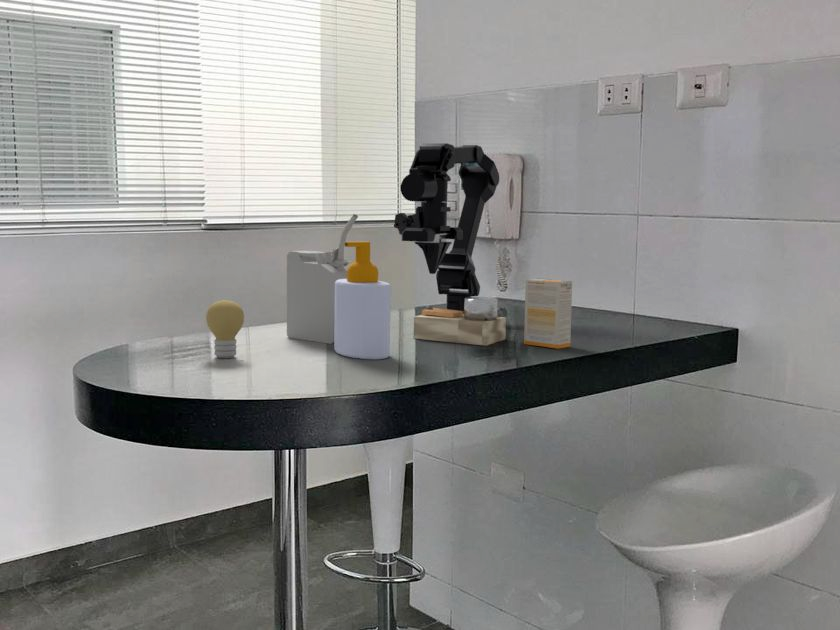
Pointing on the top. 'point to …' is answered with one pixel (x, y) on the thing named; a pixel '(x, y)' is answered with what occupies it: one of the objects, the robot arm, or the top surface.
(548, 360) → the top surface
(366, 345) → the soap bottle
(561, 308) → the supplement box
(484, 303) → the silver metal cylinder
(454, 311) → the orange knobbed panel
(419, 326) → the block
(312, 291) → the fuel canister
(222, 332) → the light bulb
